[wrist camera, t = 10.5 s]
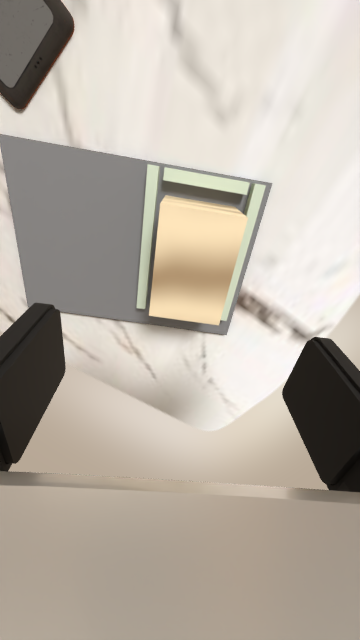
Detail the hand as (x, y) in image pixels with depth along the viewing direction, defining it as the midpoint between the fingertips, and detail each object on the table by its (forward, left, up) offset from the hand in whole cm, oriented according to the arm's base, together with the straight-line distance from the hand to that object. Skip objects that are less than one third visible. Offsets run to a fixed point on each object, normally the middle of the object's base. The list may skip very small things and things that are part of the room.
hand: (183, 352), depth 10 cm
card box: (+1, 0, -14) cm, 14 cm away
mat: (-4, -1, -15) cm, 15 cm away
